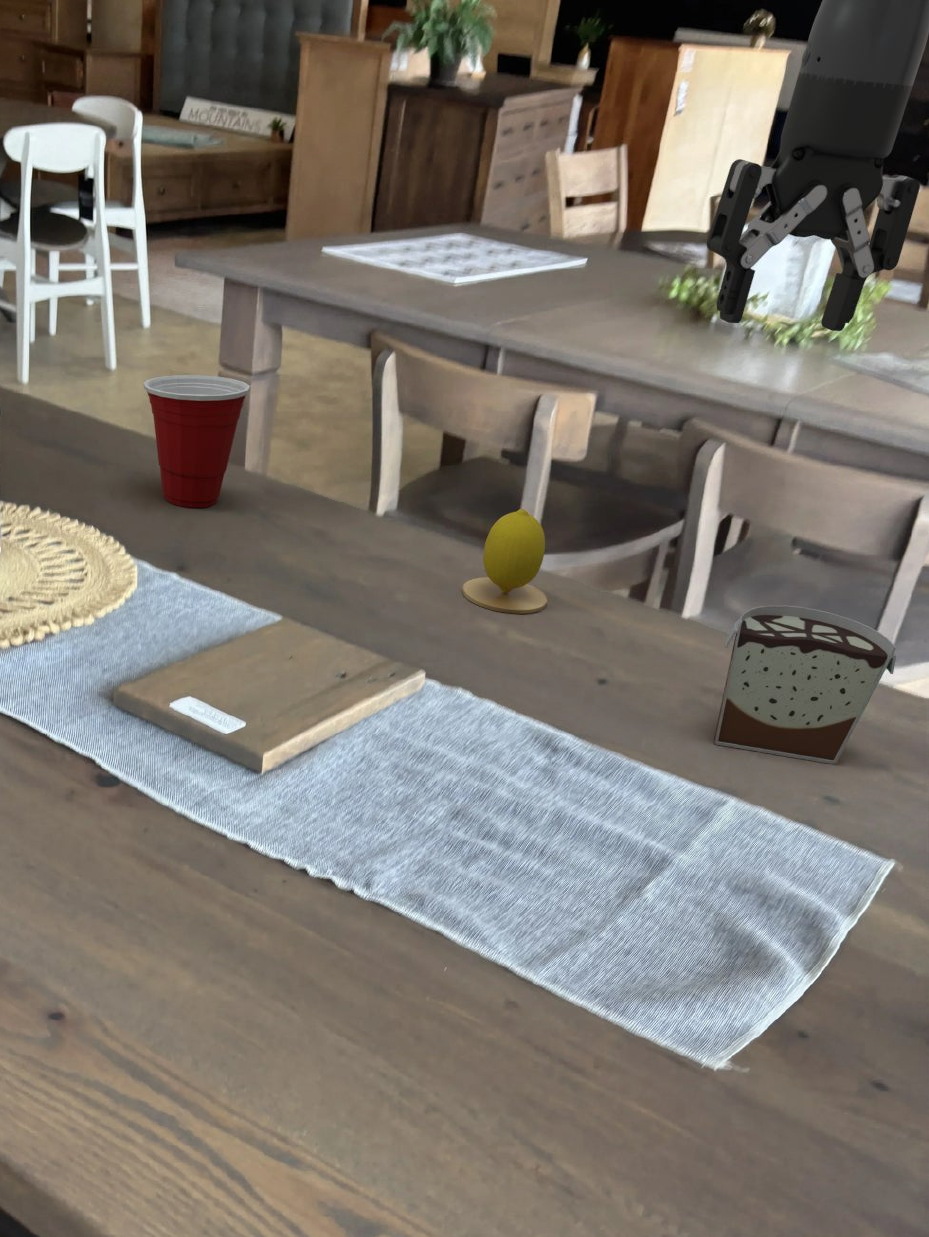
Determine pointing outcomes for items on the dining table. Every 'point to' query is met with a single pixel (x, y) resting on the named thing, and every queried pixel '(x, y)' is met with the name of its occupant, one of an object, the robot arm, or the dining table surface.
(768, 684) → the food container
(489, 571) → the lemon
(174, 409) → the plastic cup
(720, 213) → the robot arm
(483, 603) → the coaster
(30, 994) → the dining table surface
